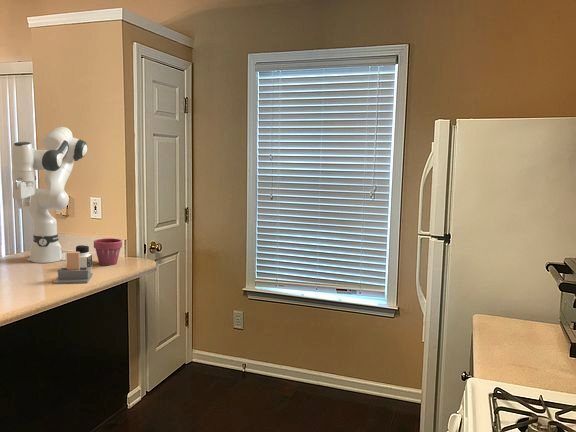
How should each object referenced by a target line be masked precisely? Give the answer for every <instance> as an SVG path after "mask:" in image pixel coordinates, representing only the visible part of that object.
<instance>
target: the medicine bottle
mask: <svg viewBox="0 0 576 432" xmlns="http://www.w3.org/2000/svg"><path fill="white" fill-rule="evenodd" d="M75 252H80V267H91V268H92V267H93V254H92V253H90V247H89V246H88V245H87V244H80V245H77V246H76V247H75Z"/></svg>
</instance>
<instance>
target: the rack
mask: <svg viewBox="0 0 576 432" xmlns="http://www.w3.org/2000/svg"><path fill="white" fill-rule="evenodd" d="M91 268H92V267H80V270H67V266H65V267H61V268H60V270H57V278H56V279H55V280H54V281H53V284H54V285H61V284H62V285H64V284H65V285H66V284H67V285H68V284H69V285H70V284H88V283H89V281H90V280H91V278H92V277H93V273H92V271H91Z"/></svg>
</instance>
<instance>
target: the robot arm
mask: <svg viewBox="0 0 576 432" xmlns="http://www.w3.org/2000/svg"><path fill="white" fill-rule="evenodd" d="M42 145H43V148H45V149H35V148H33V144H32V142H28V141H17V142H15V143H13V144H12V148H11V164H12V168H11V176H12V177H11V179H12V182H13V183H12V198H13V200H16V202H17V205H18V209H19V210H21V209H22V210H23V209H24V208H26V209H27V211H28V212H29V214H30V215H31V218H32V219H31V220H32V222H33V236H32V241H33V243H31V245H30V251H29V253H30V254H29V255H30V256H29V257H28V258H26V261H28V262H29V261H30V262H32V263H41V264H44V263H55V262H58V261H59V262H60V261H65V260H67V252H63V250H62V244H61V243H60V242H59V240H60V239H59V233H58V222H57V221H58V220H57V219H56V218H55V217H54V216H53V215H51V213H50V212H49V210H53V211H57V210H63V209H66V208H67V206H68V205H69V203H70V198H69V195H68V193H67V192H66V191H65V187H66V183H67V182H68V180H69V177H70V175H71V174H72V171H73V168H74V165H75V162H77V161H79V160H82V159H83V158H84V157H85V156H86V154H87V152H88V143H87V142H86V141H84V140H82V139H79V138H76V137H74V135H73V133H72V131H71V129H69V128H68V127H66V126H59V127H55V128H53V129H51V130H50V131H48V132H47V133H45V134H44V136H43V138H42ZM35 170H36V171H46V172H45V174H44V176H43V179H44V180H43V181H44V183H45V184H46V185H47V187H46V188H38V187H37V188H36V181H37V175H36V174H35Z"/></svg>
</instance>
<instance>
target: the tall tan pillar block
mask: <svg viewBox="0 0 576 432" xmlns="http://www.w3.org/2000/svg"><path fill="white" fill-rule="evenodd" d="M66 267H67V270H80V252H76V251H67V252H66Z"/></svg>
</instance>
